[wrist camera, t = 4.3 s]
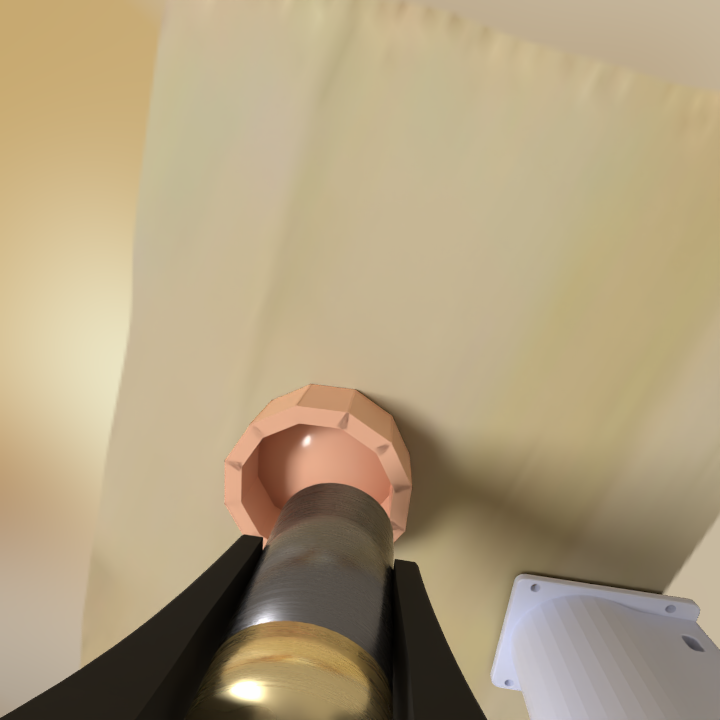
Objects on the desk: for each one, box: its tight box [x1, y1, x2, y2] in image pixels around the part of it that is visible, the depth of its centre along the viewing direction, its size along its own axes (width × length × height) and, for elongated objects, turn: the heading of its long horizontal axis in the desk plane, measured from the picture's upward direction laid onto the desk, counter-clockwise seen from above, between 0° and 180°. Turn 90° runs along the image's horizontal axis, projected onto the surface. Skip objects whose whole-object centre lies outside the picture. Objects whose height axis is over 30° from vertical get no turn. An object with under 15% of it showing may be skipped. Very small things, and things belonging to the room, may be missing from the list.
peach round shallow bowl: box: [224, 384, 412, 549], centre depth 18 cm, size 9×9×3 cm
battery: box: [184, 483, 393, 720], centre depth 9 cm, size 4×4×7 cm
